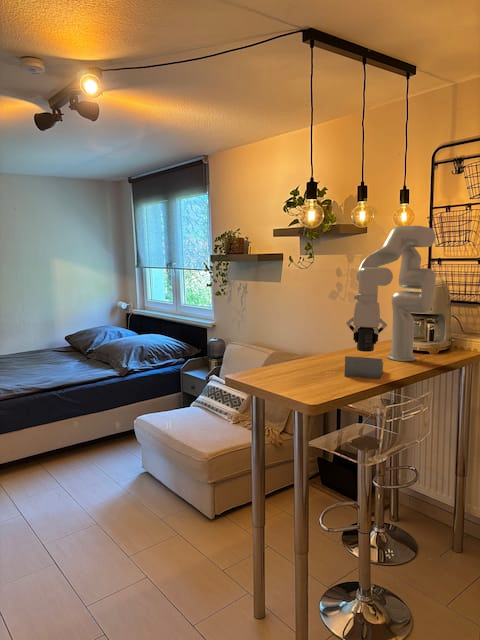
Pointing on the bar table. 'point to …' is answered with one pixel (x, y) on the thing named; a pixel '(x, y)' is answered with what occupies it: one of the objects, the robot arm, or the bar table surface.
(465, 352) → the bar table surface
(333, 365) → the bar table surface
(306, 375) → the bar table surface
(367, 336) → the supplement bottle
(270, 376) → the bar table surface
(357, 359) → the shelf block
